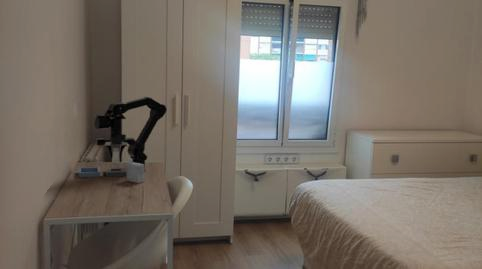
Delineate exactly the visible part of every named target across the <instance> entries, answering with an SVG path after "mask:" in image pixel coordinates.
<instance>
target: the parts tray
mask: <svg viewBox="0 0 482 269" xmlns="http://www.w3.org/2000/svg"><path fill="white" fill-rule="evenodd" d="M84 177H89V178H101V169H100V166H92V167H91V166H90V167H89V166H88V167H86V166H85V167H83V166H82V167H78V179H81V178H84Z"/></svg>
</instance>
